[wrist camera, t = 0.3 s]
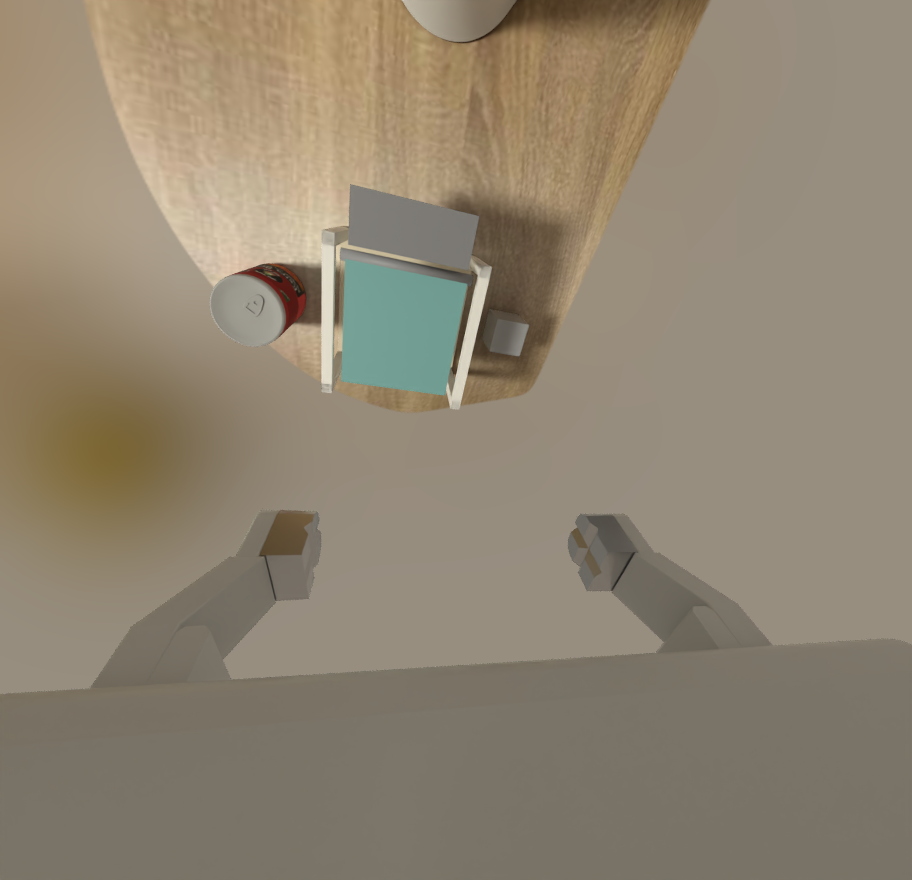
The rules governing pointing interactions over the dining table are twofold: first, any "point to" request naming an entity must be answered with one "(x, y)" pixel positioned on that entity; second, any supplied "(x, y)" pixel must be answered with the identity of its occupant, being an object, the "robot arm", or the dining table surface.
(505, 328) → the grey block
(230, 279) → the canned food
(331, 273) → the frame
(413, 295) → the trapdoor
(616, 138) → the dining table surface
